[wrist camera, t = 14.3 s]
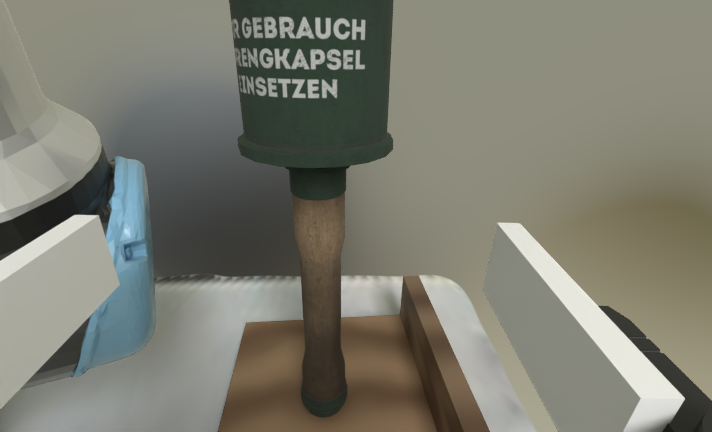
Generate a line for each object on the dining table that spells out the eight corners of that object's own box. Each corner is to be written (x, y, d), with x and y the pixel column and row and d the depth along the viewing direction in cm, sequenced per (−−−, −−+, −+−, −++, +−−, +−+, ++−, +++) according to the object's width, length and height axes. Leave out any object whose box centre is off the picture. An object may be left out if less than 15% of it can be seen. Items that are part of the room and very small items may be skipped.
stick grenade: (248, 408, 29) (175, -50, 16) (323, 345, 35) (312, -21, 22) (326, 481, 24) (309, -88, 11) (397, 394, 30) (437, -38, 18)
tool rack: (491, 553, 22) (514, 485, 19) (187, 590, 20) (162, 521, 18) (412, 328, 40) (418, 275, 37) (247, 337, 39) (240, 283, 36)
